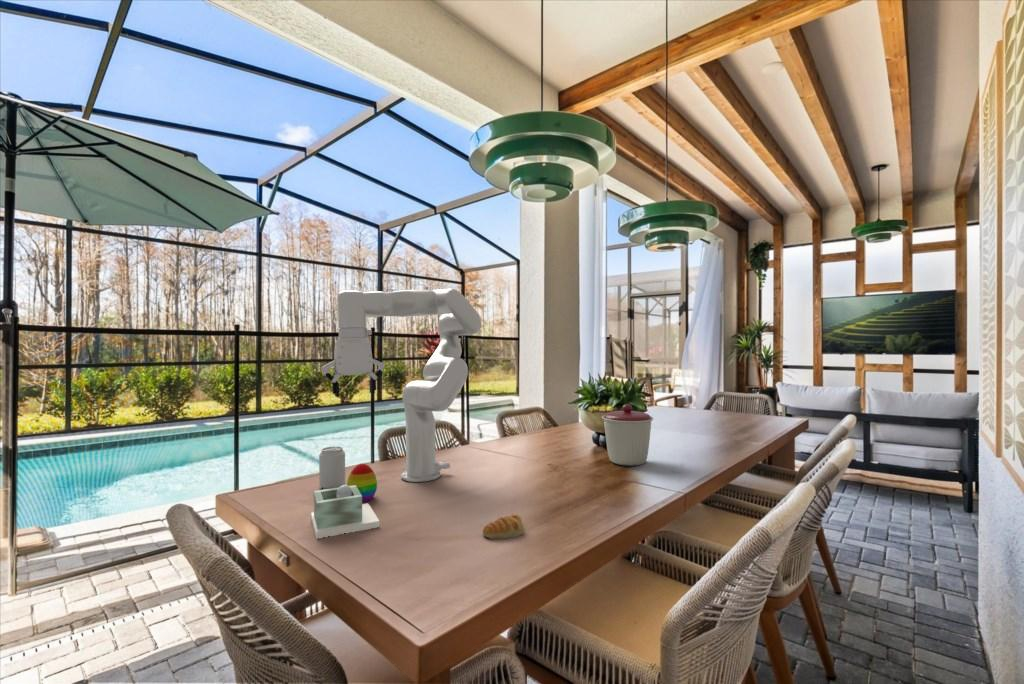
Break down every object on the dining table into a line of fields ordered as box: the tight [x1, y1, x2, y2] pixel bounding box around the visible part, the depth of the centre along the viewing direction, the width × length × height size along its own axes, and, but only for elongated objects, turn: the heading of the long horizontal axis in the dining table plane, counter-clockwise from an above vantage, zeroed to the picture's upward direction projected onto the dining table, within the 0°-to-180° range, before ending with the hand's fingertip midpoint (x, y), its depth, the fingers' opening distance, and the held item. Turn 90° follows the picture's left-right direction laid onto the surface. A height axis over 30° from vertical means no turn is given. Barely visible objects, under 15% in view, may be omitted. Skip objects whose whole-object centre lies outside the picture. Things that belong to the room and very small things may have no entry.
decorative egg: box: [346, 463, 378, 503], centre depth 133 cm, size 8×8×10 cm
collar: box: [313, 485, 363, 529], centre depth 115 cm, size 10×10×6 cm
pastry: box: [482, 514, 525, 540], centre depth 109 cm, size 9×7×4 cm
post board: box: [310, 484, 380, 540], centre depth 116 cm, size 14×14×9 cm
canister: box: [601, 403, 654, 467], centre depth 171 cm, size 18×18×21 cm
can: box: [318, 445, 346, 490], centre depth 145 cm, size 8×8×12 cm
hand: (354, 394), depth 134 cm, fingers open, 9 cm apart
